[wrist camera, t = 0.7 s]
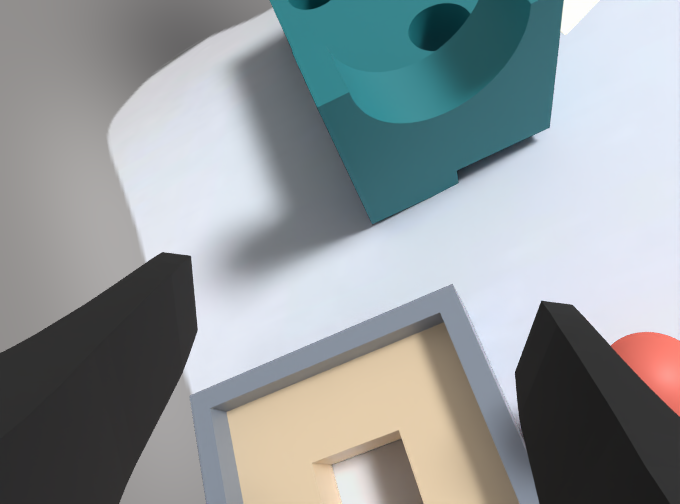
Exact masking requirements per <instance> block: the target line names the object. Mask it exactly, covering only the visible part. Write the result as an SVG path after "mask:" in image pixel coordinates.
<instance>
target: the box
mask: <svg viewBox="0 0 680 504" xmlns="http://www.w3.org/2000/svg"><path fill="white" fill-rule="evenodd" d="M190 401H191V407H192V414H193V420H194V427H195V434H196V439H197V447H198V452H199V459H200V466H201V472H202V479H203V485H204V492H205V497H206V504H342V503H341V499H340V495H339V491H338V488H337V484H336V480H335V477H334V473H333V469H332V465H333V464H335V463H338V462H341V461H343V460H346V459H349V458H351V457H354V456H356V455H359V454H362V453H364V452H367V451H370V450H372V449H375V448H378V447H380V446H383V445H386V444H388V443H391V442H394V441H396V440H399V439H402V441H403V444H404V447H405V450H406V453H407V456H408V459H409V462H410V465H411V468H412V471H413V474H414V477H415V479H416V482H417V485H418V488H419V491H420V494H421V497H422V500H423V503H424V504H539V500H538V496H537V492H536V488H535V483H534V479H533V475H532V471H531V467H530V463H529V458H528V454H527V450H526V445H525V441H524V439H523V437H522V435H521V432H520V430H519V428H518V426H517V423H516V421H515V419H514V417H513V414H512V412H511V410H510V408H509V405H508V403H507V401H506V399H505V396H504V394H503V392H502V390H501V387H500V385H499V383H498V381H497V378H496V376H495V374H494V372H493V369H492V367H491V365H490V363H489V360H488V358H487V356H486V354H485V351H484V349H483V347H482V344H481V342H480V340H479V338H478V335H477V333H476V331H475V329H474V326H473V324H472V322H471V320H470V317H469V315H468V313H467V311H466V309H465V307H464V305H463V303H462V301H461V299H460V297H459V295H458V293H457V292H456V290H455V288H454V286H453V284H451V285H449V286H446V287H444V288H442V289H439V290H437V291H435V292H432V293H430V294H428V295H425V296H423V297H421V298H418V299H416V300H414V301H411V302H409V303H406V304H404V305H402V306H399V307H397V308H395V309H392V310H390V311H388V312H385V313H383V314H381V315H378V316H376V317H374V318H371V319H369V320H367V321H364V322H362V323H359V324H357V325H355V326H352V327H350V328H348V329H345V330H343V331H341V332H338V333H336V334H334V335H331V336H329V337H327V338H324V339H322V340H320V341H317V342H315V343H312V344H310V345H308V346H305V347H303V348H301V349H298V350H296V351H294V352H291V353H289V354H287V355H284V356H282V357H280V358H277V359H275V360H273V361H270V362H268V363H266V364H263V365H261V366H258V367H256V368H254V369H251V370H249V371H247V372H244V373H242V374H240V375H237V376H235V377H233V378H230V379H228V380H226V381H223V382H221V383H219V384H216V385H214V386H211V387H209V388H207V389H204V390H202V391H200V392H197V393H195V394H193V395H190Z"/></svg>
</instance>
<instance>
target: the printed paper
mask: <svg viewBox="0 0 680 504" xmlns="http://www.w3.org/2000/svg"><path fill="white" fill-rule="evenodd" d="M598 1H599V0H564V4H563V13H562V21H561V30H560V32H562V33H563V34H565V35H567V34H568V33H569V32H570V31H571V29H572V28H573V27H574V26H575V25H576V24H577V23H578V22H579V21H580V20H581V19H582V18H583V17H584V16H585V15H586V14H587V13H588V12H589V11H590V10H591V9H592V8H593V7H594V6H595V5H596V4H597V3H598Z"/></svg>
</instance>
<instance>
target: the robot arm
mask: <svg viewBox="0 0 680 504" xmlns="http://www.w3.org/2000/svg"><path fill="white" fill-rule="evenodd" d="M197 330H198V329H197V318H196V307H195V296H194V285H193V274H192V263H191V256H188V255H180V254H172V253H164V252H162V253H160V254H159V255H157V256H156V257H154V258H152V259H151V260H149V261H148V262H147V263H145V264H144V265H142V266H141V267H139V268H138V269H136V270H135V271H133V272H132V273H131V274H129V275H128V276H126V277H125V278H123V279H122V280H120V281H119V282H118V283H116V284H114V285H113V286H112V287H110V288H109V289H107V290H106V291H104V292H103V293H101V294H100V295H98V296H97V297H95V298H94V299H92V300H91V301H89V302H88V303H86V304H85V305H83V306H81V307H80V308H78V309H76V310H75V311H73V312H71V313H70V314H69V315H67V316H65V317H63V318H62V319H60V320H58V321H57V322H55V323H53V324H52V325H50V326H48V327H47V328H45V329H43V330H42V331H40V332H39V333H37V334H35V335H33V336H32V337H30V338H28V339H26V340H25V341H22V342H21V343H19V344H17V345H15V346H13V347H11V348H10V349H7V350H6V351H4V352H2V353H0V504H119V502H120V500H121V497H122V495H123V492H124V490H125V487H126V485H127V482H128V480H129V478H130V476H131V474H132V472H133V469H134V467H135V465H136V463H137V461H138V459H139V457H140V455H141V453H142V451H143V450H144V448H145V446H146V444H147V442H148V440H149V438H150V436H151V434H152V432H153V429H154V428H155V426H156V424H157V422H158V420H159V418H160V416H161V414H162V412H163V410H164V409H165V406H166V405H167V403H168V401H169V399H170V397H171V395H172V393H173V391H174V389H175V386H176V385H177V383H178V381H179V379H180V377H181V375H182V373H183V370H184V367H185V365H186V362H187V359H188V357H189V354H190V351H191V348H192V345H193V342H194V339H195V336H196V333H197ZM515 379H516V391H517V402H518V411H519V419H520V423H521V428H522V432H523V437H524V441H525V445H526V450H527V454H528V458H529V463H530V467H531V471H532V475H533V479H534V483H535V488H536V492H537V496H538V500H539V504H680V417H679V416H678V415H677V414H676V413H675V412H674V411H673V410H672V409H671V408H670V407H669V406H668V405H667V404H666V403H665V402H664V401H663V400H662V399H661V398H660V397H659V396H658V395H657V394H656V393H655V392H654V391H653V390H652V389H651V388H650V387H649V386H648V385H647V384H646V383H645V382H644V381H643V380H642V379H641V378H640V377H639V376H638V375H637V374H636V373H635V372H634V371H633V370H632V369H631V368H630V366H629V365H628V364H627V363H626V362H625V361H624V360H623V359H622V358H621V357H620V356H619V355H618V354H617V353H616V351H615V350H614V349H613V348H612V347H611V346H610V345H609V344H608V343H607V342H606V340H605V339H604V338H603V337H602V336H601V335H600V334H599V333H598V332H597V331H596V329H595V328H594V327H593V326H592V325H591V324H590V323H589V322H588V321H587V320H586V319H585V317H584V316H583V315H582V314H581V313H580V312H579V311H578V310H577V309H576V308H575V307H574V306H573V305H570V304H562V303H554V302H546V301H541V303H540V306H539V309H538V312H537V314H536V317H535V320H534V322H533V325H532V328H531V330H530V333H529V336H528V339H527V341H526V344H525V347H524V349H523V352H522V355H521V358H520V360H519V363H518V366H517V368H516V371H515Z"/></svg>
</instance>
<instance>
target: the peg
mask: <svg viewBox="0 0 680 504" xmlns="http://www.w3.org/2000/svg"><path fill="white" fill-rule="evenodd" d="M611 347H612V348H613V349H614V350H615V351H616V353H617V354H618V355H619V356H620V357H621V358H622V359H623V360H624V361H625V362H626V363H627V364H628V365H629V366H630V368H631V369H632V370H633V371H634V372H635V373H636V374H637V375H638V376H639V377H640V378H641V379H642V380H643V381H644V382H645V383H646V384H647V385H648V386H649V387H650V388H651V389H652V390H653V391H654V392H655V393H656V394H657V395H658V396H659V397H660V398H661V399H662V400H663V401H664V402H665V403H666V404H667V405H668V406H669V407H670V408H671V409H672V410H673V411H674V412H675V413H676V414H677V415H678V416H679V417H680V341H679V340H677V339H675V338H672V337H670V336H667V335H664V334H660V333H654V332H640V333H634V334H630V335H627V336H625V337H623V338H621V339H619V340H617V341H616V342H615V343H613V344H612V345H611Z"/></svg>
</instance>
